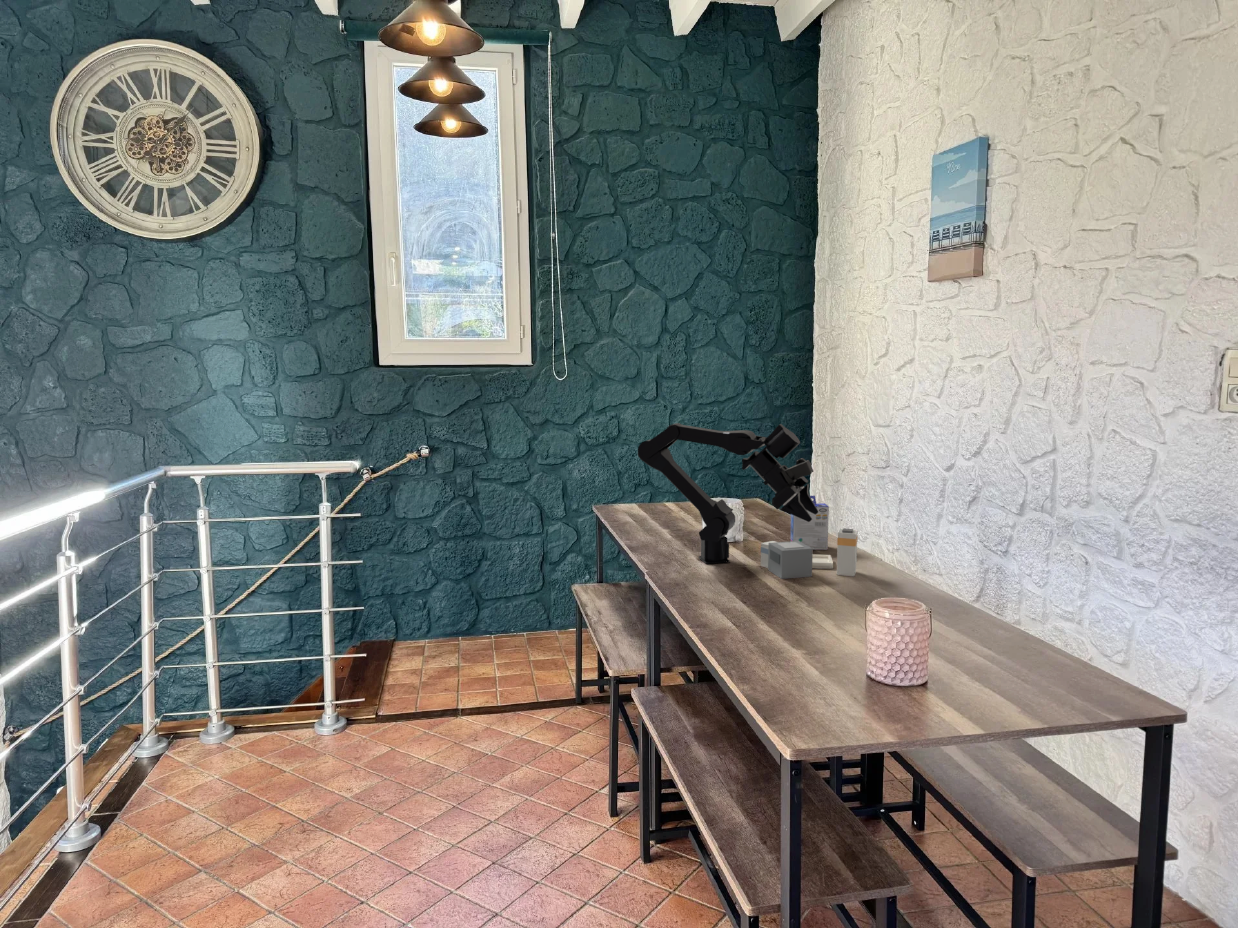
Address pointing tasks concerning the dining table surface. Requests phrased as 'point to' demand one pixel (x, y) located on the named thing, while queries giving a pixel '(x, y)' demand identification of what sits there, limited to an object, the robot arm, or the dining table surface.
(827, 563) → the tray
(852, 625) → the dining table surface
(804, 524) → the ink cartridge box
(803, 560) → the block
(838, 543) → the block
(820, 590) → the dining table surface
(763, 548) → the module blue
